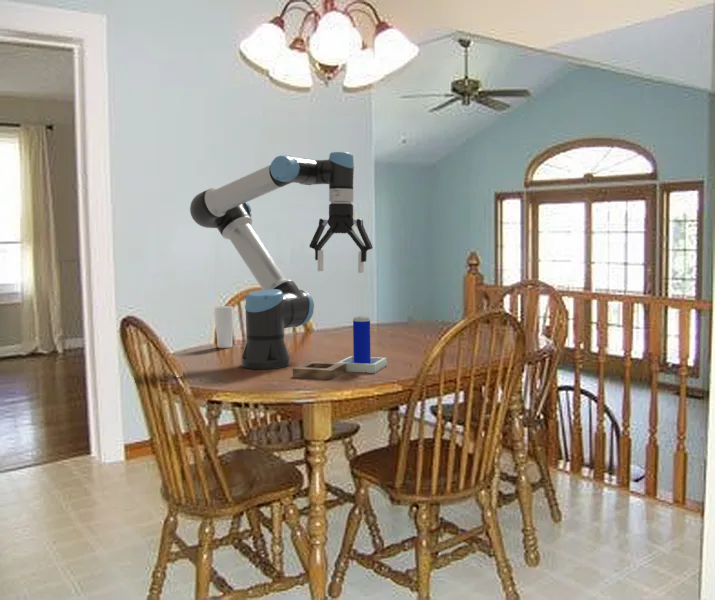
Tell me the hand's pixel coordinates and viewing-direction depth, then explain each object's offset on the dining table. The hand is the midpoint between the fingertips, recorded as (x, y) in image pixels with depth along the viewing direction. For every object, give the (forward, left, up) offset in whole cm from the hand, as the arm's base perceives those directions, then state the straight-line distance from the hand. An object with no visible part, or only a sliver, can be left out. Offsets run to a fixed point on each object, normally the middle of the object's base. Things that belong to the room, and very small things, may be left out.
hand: (340, 271), depth 218 cm
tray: (+9, -6, -29) cm, 31 cm away
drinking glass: (-53, +20, -29) cm, 64 cm away
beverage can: (+9, -6, -29) cm, 30 cm away
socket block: (0, -18, -29) cm, 34 cm away
